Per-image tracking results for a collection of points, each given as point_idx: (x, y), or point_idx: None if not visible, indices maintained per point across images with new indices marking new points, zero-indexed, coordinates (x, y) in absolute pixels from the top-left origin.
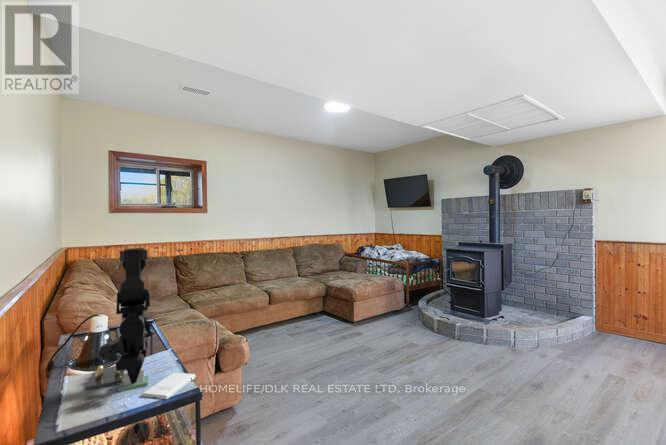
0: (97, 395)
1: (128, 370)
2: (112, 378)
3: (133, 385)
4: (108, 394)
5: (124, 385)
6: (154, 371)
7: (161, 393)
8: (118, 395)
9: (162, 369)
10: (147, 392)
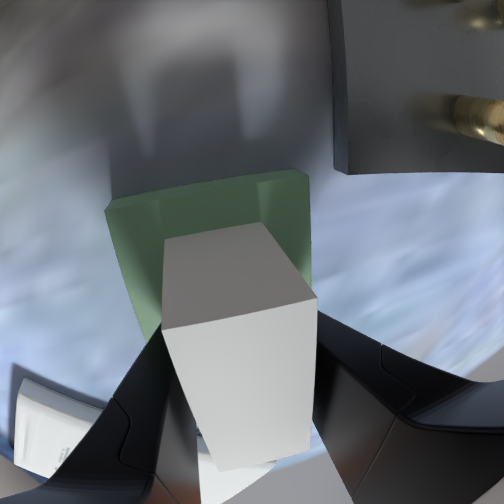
0: (127, 2)
1: (86, 461)
2: (424, 77)
3: (146, 327)
4: (99, 103)
5: (164, 247)
6: (401, 347)
7: (26, 457)
8: (48, 216)
9: None
10: (26, 418)
